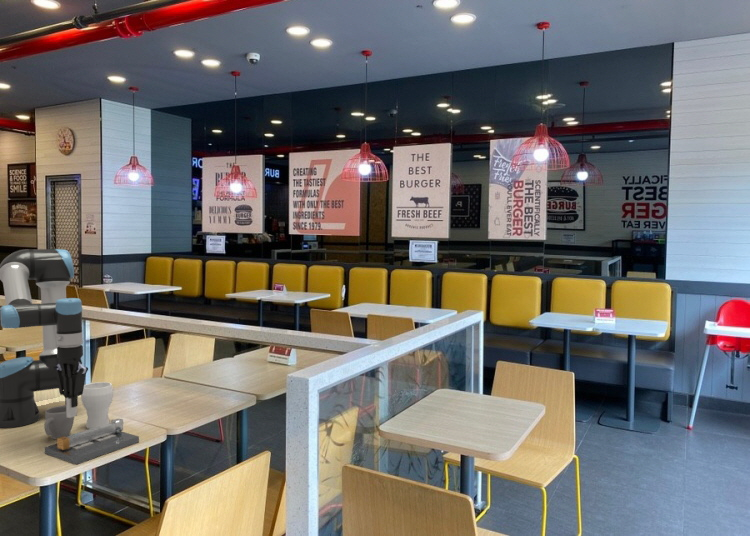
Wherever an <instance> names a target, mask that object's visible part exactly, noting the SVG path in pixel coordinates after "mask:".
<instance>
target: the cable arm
mask: <svg viewBox="0 0 750 536" xmlns="http://www.w3.org/2000/svg"><path fill="white" fill-rule="evenodd" d="M123 430H124V419H123V418H114V419H112V420H111V422H109V423H108V424H105V425H102V426H98V427H95V428H92V429H86V430H83V431H79V432H75V433H73V434H69V436H66V437H64V436H63V437H59V438H57V439H56V442H57V443H56V444H57V448H59V449H62V450H65V449H68V448H70V447H73V446H76V445H79V444H82V443H85V442H88V441H91V440H94V439H97V438H100V437H103V436H106V435H109V434H112V433H115V432H121V431H122V432H124V431H123Z"/></svg>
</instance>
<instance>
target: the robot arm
mask: <svg viewBox="0 0 750 536" xmlns="http://www.w3.org/2000/svg"><path fill="white" fill-rule="evenodd" d="M74 277H75V267H74V263H73V259H72V256H71V253H70V252H69V251H68V250H67V249H62V248H58V249H57V248H47V249H46V248H44V249H43V248H42V249H41V248H38V249H35V248H34V249H26V248H25V249H19V250H16V251H14V252H12V253H11V254H9V255H7V256H6V257H5V258H4V259H3V260H2V261H1V263H0V281H1V282H2V285H3V292H4V298H5V299H4V300H5V305H2V306H0V326H1V328H3V329H19V328H30V327H31V328H32V327H42V345H43V348H42V351H41V352H40V354H39V355H38V359H36V360H34V358H33V357H32V356H22V357H21V356H19V357H17V358H12V359H8V360H4V361H2V362H1V363H0V428H1V429H8V428H9V429H10V428H19V427H23V426H27V425H31V424H33V423H35V422H38V421H40V419H41V415H40V414H41V413H40V410H39V407H38V405H37V403H36V400H35V393H34V392H42V391H49V390H56V389H57V390H58V391H59V395H61V396H63V397H64V401H65V402H64V403H65V405H64V406H66V412H67V418H71V417H74V418H75V417H76V416H78V415H77V414H78V409H77V408H78V406H79V405H78V403H79V402H78V401H79V400H78V397H79V396H80V397H81V395H82V394H83V389H84V385H85V381H86V376H87V373H88V371H89V367H88V366H84V365H83V361H82V357H83V356H84V345H82V344H84V343H83V342H84V341H83V340H84V337H83V305H82V303H83V302H82V300H81V298H78V297H77V298H76V297H68V298H67V286H68V285H70V283H71V279H73V278H74ZM29 280H30V281H31V280H32V281H33V280H35V285H36V286H38V287H39V288H40V296H41V297H40V298H41V299H40V300H41V303H33V301H32V300H33V299H32V295H31V289H30V286H29V285H30V284H29Z"/></svg>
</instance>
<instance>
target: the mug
mask: <svg viewBox="0 0 750 536" xmlns="http://www.w3.org/2000/svg"><path fill="white" fill-rule="evenodd" d="M44 418H45V421H44V426H43V429H44V432H45V435H46V436H50V437H51V440H57V438H59V437H63V436H64V437H66V436H69V435H71V430H72V429H73V427H74V426H73V425H74V422H75V416H74V417H71V418H67V412H66V405H59V406H58V405H57V406H52V407H49V408H47V409H46V410H45V412H44Z"/></svg>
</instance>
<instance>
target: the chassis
mask: <svg viewBox="0 0 750 536" xmlns="http://www.w3.org/2000/svg"><path fill="white" fill-rule="evenodd" d="M138 443H140V436H139V435H135V434H133V433H129V432H125V431H121V432H115V433H112V434H109V435H106V436H103V437H100V438H97V439H94V440H91V441H88V442H85V443H82V444H79V445H76V446H73V447H70V448H68V449H65V450H62V449H59V448H57V443H53V444H52V445H48V446H45V447H44V454H45V455H48V456H51V457H53V458H56V459H59V460H61V461H64V462H68V463H72V464H73V465H79V464H81V463H85V462H87V461H90V460H93V459H96V458H98V457H97V456H99V457H101V456H100V455H102V456H104V455H103V454H105V455H107V454H110V453H112V451H113V452H115V450H116V451H118V449H119V450H121V449H124V448H127V447H129V446H132V445H135V444H138ZM109 452H110V453H109ZM106 453H107V454H106ZM95 457H96V458H95ZM92 458H93V459H92Z"/></svg>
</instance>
